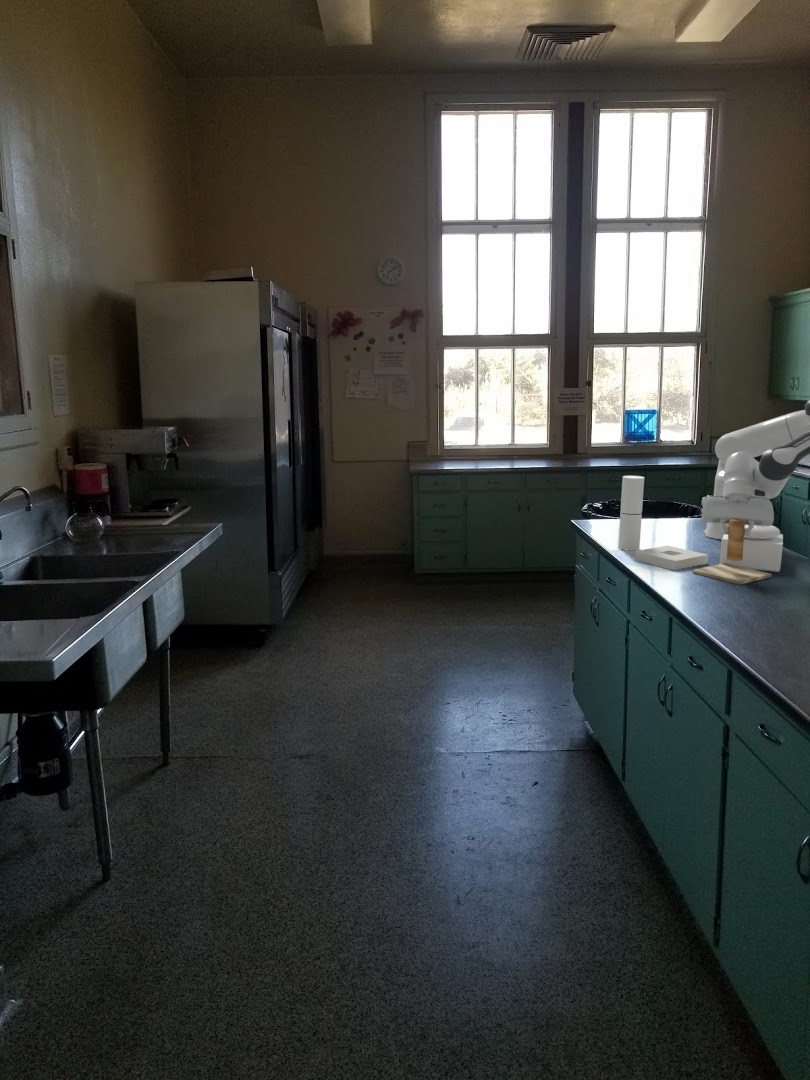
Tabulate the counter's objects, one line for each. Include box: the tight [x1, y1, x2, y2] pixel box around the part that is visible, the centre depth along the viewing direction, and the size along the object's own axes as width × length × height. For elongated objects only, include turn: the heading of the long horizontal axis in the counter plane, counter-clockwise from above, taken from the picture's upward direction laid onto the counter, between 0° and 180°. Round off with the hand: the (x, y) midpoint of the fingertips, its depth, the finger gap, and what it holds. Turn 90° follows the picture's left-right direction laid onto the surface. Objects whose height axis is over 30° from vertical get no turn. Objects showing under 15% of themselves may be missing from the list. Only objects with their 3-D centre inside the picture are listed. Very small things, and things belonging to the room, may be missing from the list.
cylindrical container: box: [617, 475, 645, 551], centre depth 273 cm, size 7×7×25 cm
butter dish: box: [718, 524, 784, 573], centre depth 255 cm, size 18×18×16 cm
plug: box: [727, 519, 745, 561], centre depth 238 cm, size 4×4×12 cm
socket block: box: [634, 545, 709, 571], centre depth 256 cm, size 16×16×3 cm
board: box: [692, 563, 772, 585], centre depth 240 cm, size 16×16×1 cm
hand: (736, 534), depth 237 cm, fingers closed on plug, 4 cm apart
